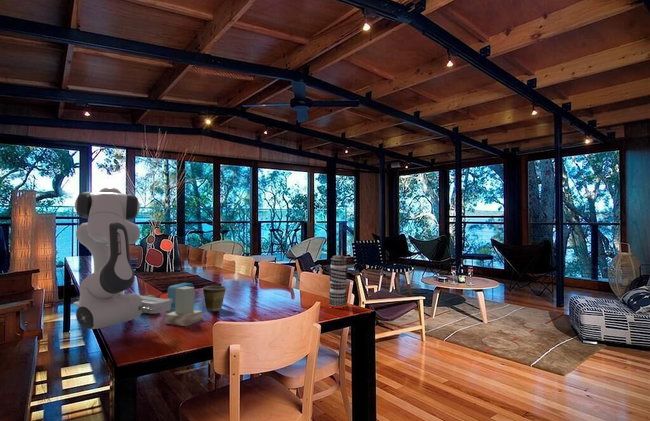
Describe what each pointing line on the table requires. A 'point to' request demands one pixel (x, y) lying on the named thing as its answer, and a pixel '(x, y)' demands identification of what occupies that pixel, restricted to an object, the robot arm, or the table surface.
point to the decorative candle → (338, 281)
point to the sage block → (184, 300)
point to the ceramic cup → (214, 297)
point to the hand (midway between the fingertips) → (161, 299)
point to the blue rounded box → (172, 294)
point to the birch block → (183, 318)
